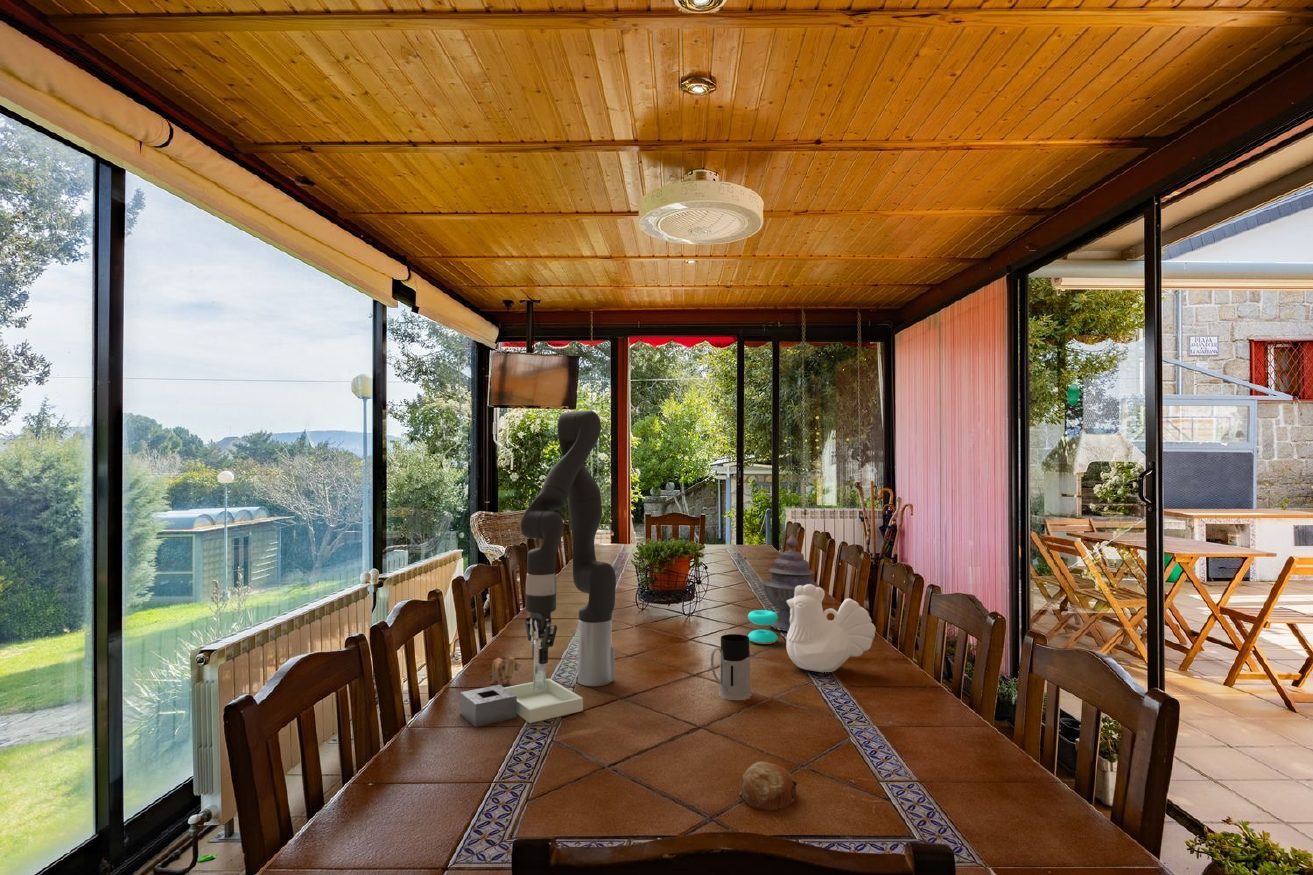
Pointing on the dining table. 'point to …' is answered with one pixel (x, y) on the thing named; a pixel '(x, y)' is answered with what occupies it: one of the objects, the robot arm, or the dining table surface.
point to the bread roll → (768, 786)
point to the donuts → (762, 619)
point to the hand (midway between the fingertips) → (539, 661)
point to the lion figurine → (504, 669)
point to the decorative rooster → (825, 631)
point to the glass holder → (733, 667)
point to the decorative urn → (787, 581)
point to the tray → (545, 701)
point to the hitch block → (488, 705)
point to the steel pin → (538, 668)
